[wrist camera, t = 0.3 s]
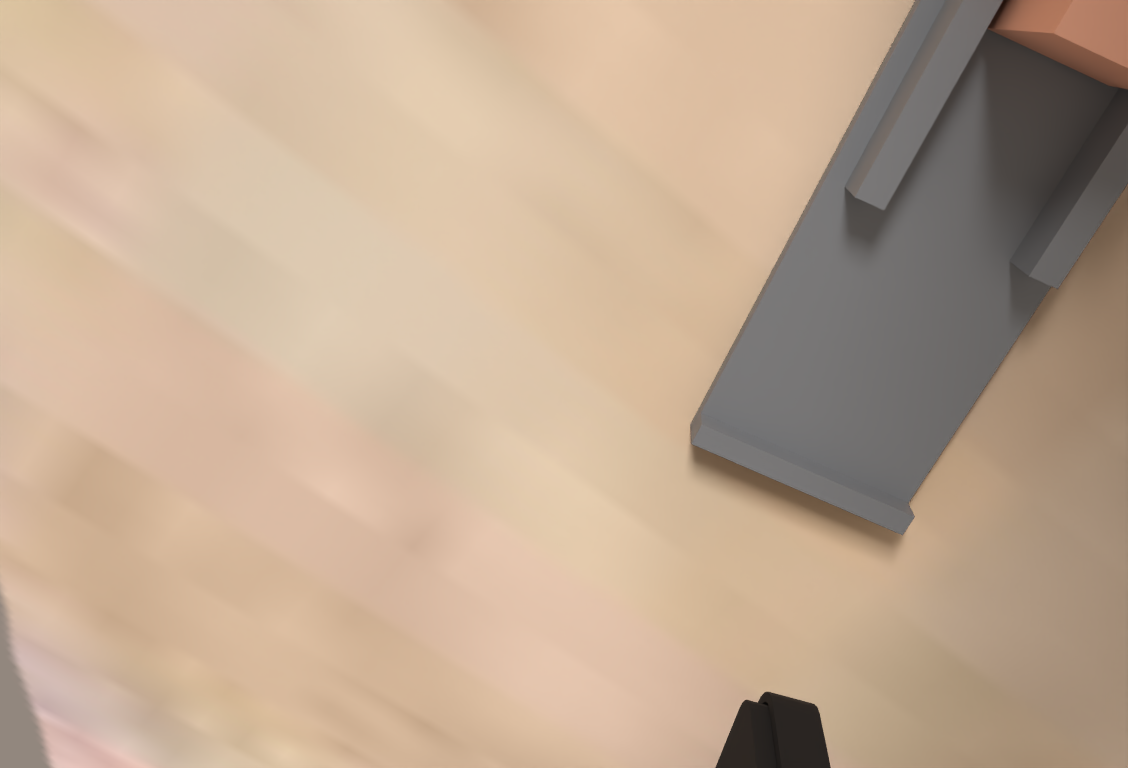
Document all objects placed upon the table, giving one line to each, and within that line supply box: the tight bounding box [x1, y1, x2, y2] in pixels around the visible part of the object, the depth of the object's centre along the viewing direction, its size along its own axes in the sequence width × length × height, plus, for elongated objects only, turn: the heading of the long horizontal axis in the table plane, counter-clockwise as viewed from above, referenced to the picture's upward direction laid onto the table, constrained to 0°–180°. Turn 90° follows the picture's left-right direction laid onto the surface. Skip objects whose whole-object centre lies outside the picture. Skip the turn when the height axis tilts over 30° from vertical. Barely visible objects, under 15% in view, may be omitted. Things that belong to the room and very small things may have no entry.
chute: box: [690, 0, 1128, 535], centre depth 36 cm, size 28×10×3 cm, turn 157°
